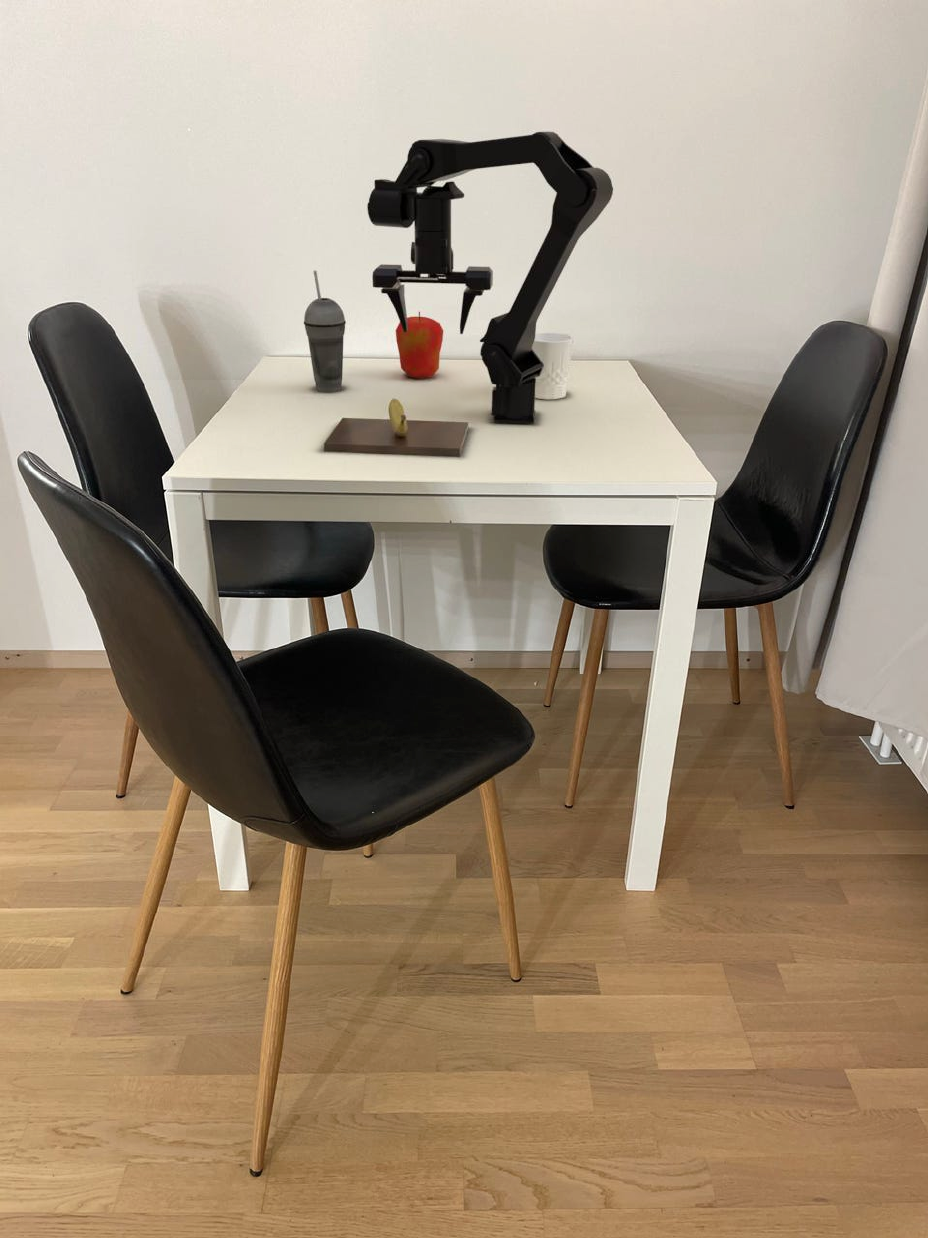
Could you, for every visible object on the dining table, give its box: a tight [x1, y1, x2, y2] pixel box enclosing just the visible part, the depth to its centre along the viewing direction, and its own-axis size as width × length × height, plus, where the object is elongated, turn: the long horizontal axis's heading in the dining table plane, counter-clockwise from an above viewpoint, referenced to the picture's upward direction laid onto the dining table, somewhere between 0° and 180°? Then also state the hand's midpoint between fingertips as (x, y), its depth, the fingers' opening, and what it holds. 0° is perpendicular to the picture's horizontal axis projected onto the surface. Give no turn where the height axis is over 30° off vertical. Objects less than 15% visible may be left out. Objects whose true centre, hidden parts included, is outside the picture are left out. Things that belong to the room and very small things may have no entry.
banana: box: [388, 398, 408, 437], centre depth 139 cm, size 10×2×4 cm, turn 11°
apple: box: [395, 311, 444, 379], centre depth 171 cm, size 9×8×12 cm
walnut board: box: [323, 417, 469, 457], centre depth 140 cm, size 20×13×1 cm, turn 85°
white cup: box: [532, 331, 574, 400], centre depth 161 cm, size 8×8×10 cm
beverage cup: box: [303, 270, 347, 393], centre depth 161 cm, size 7×7×20 cm
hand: (433, 332), depth 151 cm, fingers open, 9 cm apart
